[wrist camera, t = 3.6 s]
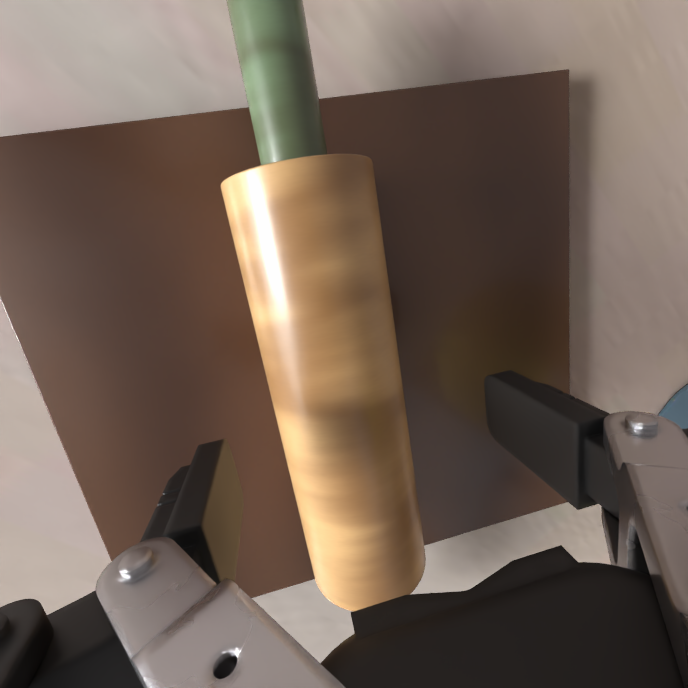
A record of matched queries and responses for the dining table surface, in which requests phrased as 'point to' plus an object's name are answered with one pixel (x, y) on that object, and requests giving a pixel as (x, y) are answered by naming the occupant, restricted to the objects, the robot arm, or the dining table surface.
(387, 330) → the rolling pin
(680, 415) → the cocktail glass
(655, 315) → the dining table surface
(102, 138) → the pastry board
